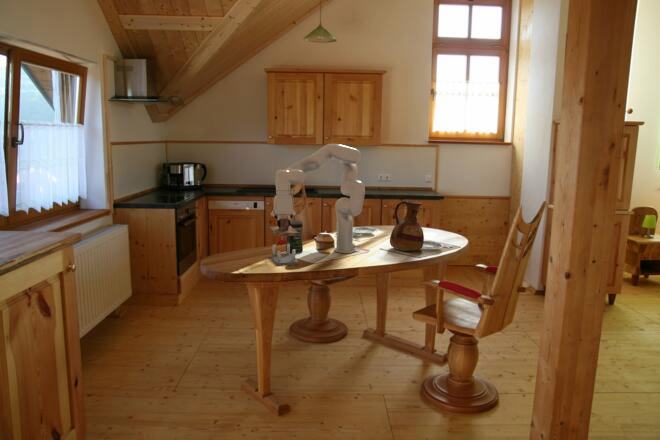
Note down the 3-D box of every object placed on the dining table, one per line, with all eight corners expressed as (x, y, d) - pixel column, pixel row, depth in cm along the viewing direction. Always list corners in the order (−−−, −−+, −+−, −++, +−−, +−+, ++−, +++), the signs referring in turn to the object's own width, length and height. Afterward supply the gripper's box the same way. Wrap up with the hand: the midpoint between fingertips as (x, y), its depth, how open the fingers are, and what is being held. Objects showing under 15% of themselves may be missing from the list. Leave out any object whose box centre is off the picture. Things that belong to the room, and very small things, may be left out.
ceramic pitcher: (423, 254, 301) (424, 202, 295) (388, 252, 305) (389, 201, 299) (423, 247, 320) (425, 198, 314) (390, 245, 323) (392, 197, 318)
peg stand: (290, 255, 295) (290, 242, 294) (298, 264, 276) (298, 250, 275) (269, 257, 292) (269, 244, 290) (276, 266, 273) (276, 252, 271)
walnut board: (290, 228, 292) (290, 215, 291) (298, 235, 273) (298, 221, 272) (269, 229, 289) (269, 216, 288) (276, 236, 270) (275, 222, 269)
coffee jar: (290, 254, 298) (289, 222, 295) (284, 251, 305) (283, 220, 301) (305, 252, 303) (305, 221, 300) (298, 250, 310) (298, 219, 306)
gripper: (297, 192, 284) (297, 225, 287) (266, 192, 279) (266, 226, 282) (300, 193, 276) (300, 227, 280) (268, 194, 272) (269, 229, 275)
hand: (283, 226), depth 281 cm, fingers closed on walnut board, 4 cm apart
